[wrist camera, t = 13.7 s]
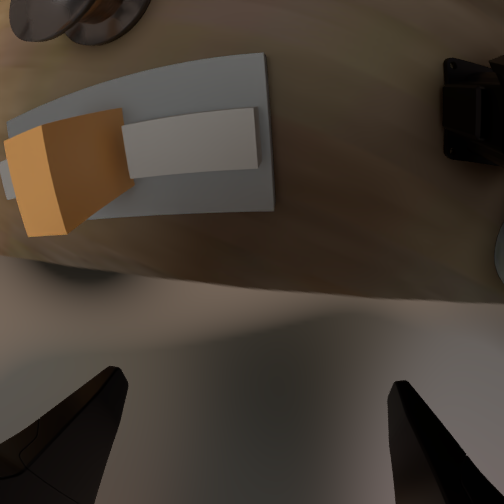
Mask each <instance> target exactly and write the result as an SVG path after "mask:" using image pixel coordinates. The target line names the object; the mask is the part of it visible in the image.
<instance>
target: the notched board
mask: <svg viewBox="0 0 504 504" xmlns="http://www.w3.org/2000/svg"><path fill="white" fill-rule="evenodd" d="M116 108H122V112H123V120H124V125H123V126H122V133H123V140H124V146H125V152H126V158H127V164H128V170H129V175H130V179H134V184H135V186H133V187H132V188H130V189H129V190H127V191H126V192H124V193H123V194H121V195H120V196H118V197H117V198H115V199H114V200H113V201H111V202H110V203H108V204H107V205H106V206H104V207H103V208H101V209H100V210H99V211H97V212H96V213H95V214H93V215H92V216H90V217H89V218H88V219H86V220H91V219H104V218H119V217H134V216H152V215H171V214H193V213H220V212H256V211H274V208H275V203H276V202H275V182H274V164H273V147H272V131H271V116H270V102H269V88H268V75H267V62H266V55H265V54H264V53H252V54H241V55H232V56H223V57H216V58H209V59H202V60H196V61H190V62H184V63H179V64H174V65H169V66H164V67H160V68H155V69H151V70H147V71H143V72H139V73H135V74H131V75H127V76H124V77H120V78H117V79H113V80H110V81H107V82H103V83H100V84H97V85H94V86H91V87H88V88H85V89H82V90H79V91H77V92H74V93H71V94H69V95H66V96H63V97H61V98H58V99H56V100H53V101H51V102H48V103H46V104H44V105H41V106H39V107H37V108H35V109H32V110H30V111H28V112H26V113H24V114H22V115H20V116H17V117H15V118H13V119H11V120H9V121H7V129H8V136H9V139H10V138H12V137H14V136H16V135H19V134H21V133H23V132H26V131H28V130H30V129H33V128H35V127H38V126H40V125H43V124H47V123H51V122H55V121H59V120H63V119H67V118H71V117H75V116H80V115H85V114H89V113H94V112H100V111H105V110H111V109H116ZM0 173H1V178H2V182H3V186H4V190H5V194H6V198H7V200H9V199H14V198H16V195H15V192H14V188H13V184H12V180H11V175H10V171H9V167H8V162H7V159H6V160H4V161H2V162H0Z"/></svg>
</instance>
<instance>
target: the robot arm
mask: <svg viewBox="0 0 504 504" xmlns="http://www.w3.org/2000/svg"><path fill="white" fill-rule="evenodd" d="M451 62H452V63H453V64H454V69H452V68H451V66H450V63H451ZM489 63H490V65H491V68H492V69H491V68H488V67H485V66H481V65H478V64H475V63H471V62H467V61H464V60H460V59H456V58H447V59H446V60H445V61H444V72H445V86H444V87H443V126H444V128H445V137H444V154H445V155H446V156H447V157H448V158H450V159H453V160H461V161H469V162H476V163H483V164H490V165H496V166H501V167H503V168H504V55H502V56H500V57H497V58H495V59H492V60H490V61H489ZM451 148H453V153H452V154H450V149H451ZM127 390H128V381H127V379H126V378H125V376H124V374H123V372H122V370H121V369H120V368H119V367H114V366H109V367H107V368H106V369H104V370H103V371H102V372H100V373H99V374H98V375H96V376H95V377H94V378H92V379H91V380H90V381H88V382H87V383H86V384H84V385H83V386H82V387H81V388H79V389H78V390H76V391H75V392H74V393H72V394H71V395H70V396H68V397H67V398H66V399H64V400H63V401H62V402H60V403H59V404H58V405H56V406H55V407H54V408H52V409H51V410H50V411H48V412H47V413H46V414H44V415H43V416H42V417H40V419H38V420H36V421H35V422H34V423H32V424H31V425H30V426H28V427H27V428H25V429H24V430H22V431H21V432H19V433H18V434H16V435H14V436H13V437H11V438H9V439H8V440H6V441H4V442H3V443H1V444H0V504H94V503H95V499H96V496H97V492H98V489H99V486H100V482H101V479H102V476H103V473H104V469H105V466H106V463H107V460H108V457H109V454H110V451H111V448H112V444H113V442H114V439H115V436H116V433H117V430H118V427H119V424H120V420H121V416H122V412H123V407H124V403H125V399H126V395H127ZM387 404H388V428H389V448H390V454H391V463H392V471H393V480H394V490H395V501H396V504H504V496H503V495H502V494H501V493H500V492H499V491H498V490H497V489H496V488H495V487H494V486H493V485H492V484H491V483H490V482H489V481H488V480H487V479H486V477H485V476H484V475H483V474H482V473H481V472H480V471H479V469H478V468H477V467H476V466H475V465H474V463H473V462H472V461H471V459H470V458H469V457H468V456H466V453H465V452H464V451H463V449H462V448H461V447H460V445H459V444H458V443H457V441H456V440H455V439H454V438H453V436H452V435H451V434H450V433H449V431H448V430H447V429H446V428H445V426H444V425H443V424H442V423H441V421H440V420H439V419H438V418H437V416H436V415H435V414H434V413H433V411H432V410H431V409H430V408H429V406H428V405H427V404H426V403H425V402H424V400H423V399H422V398H421V397H420V395H419V394H418V393H417V392H416V391H415V389H414V388H413V387H412V386H411V385H410V383H409V382H407V381H406V380H403V381H395V382H394V383H393V386H392V388H391V391H390V393H389V395H388V400H387Z"/></svg>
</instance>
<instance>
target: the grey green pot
mask: <svg viewBox="0 0 504 504" xmlns="http://www.w3.org/2000/svg"><path fill="white" fill-rule="evenodd" d="M494 258H495V266H496V270H497V273H498V275H499V277H500V279H501V280H502V282H503V283H504V222H503V224H502V226H501V229H500V232H499V234H498V237H497V241H496V246H495V256H494Z"/></svg>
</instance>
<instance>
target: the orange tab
mask: <svg viewBox="0 0 504 504" xmlns="http://www.w3.org/2000/svg"><path fill="white" fill-rule="evenodd" d="M123 125H124V120H123V112H122V108H116V109H111V110H105V111H100V112H94V113H89V114H85V115H80V116H75V117H71V118H67V119H63V120H59V121H55V122H51V123H47V124H43V125H40V126H38V127H35V128H33V129H30V130H28V131H26V132H23V133H21V134H19V135H16V136H14V137H12V138H10V139H8V140H5V141H4V147H5V152H6V157H7V162H8V167H9V171H10V175H11V180H12V184H13V188H14V192H15V195H16V199H17V203H18V206H19V210H20V213H21V216H22V219H23V223H24V226H25V229H26V232H27V235H28V237H35V236H49V235H65V234H68V233H69V232H71V231H72V230H73V229H75V228H76V227H77V226H79V225H80V224H81V223H82V222H84V221H85V220H86V219H88V218H89V217H90V216H92V215H93V214H95V213H96V212H97V211H99V210H100V209H101V208H103V207H104V206H106V205H107V204H108V203H110V202H111V201H113V200H114V199H115V198H117V197H118V196H120V195H121V194H123V193H124V192H126V191H127V190H129V189H130V188H132V187H133V186H135V184H134V179H130V175H129V170H128V164H127V158H126V152H125V146H124V140H123V133H122V126H123Z"/></svg>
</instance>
